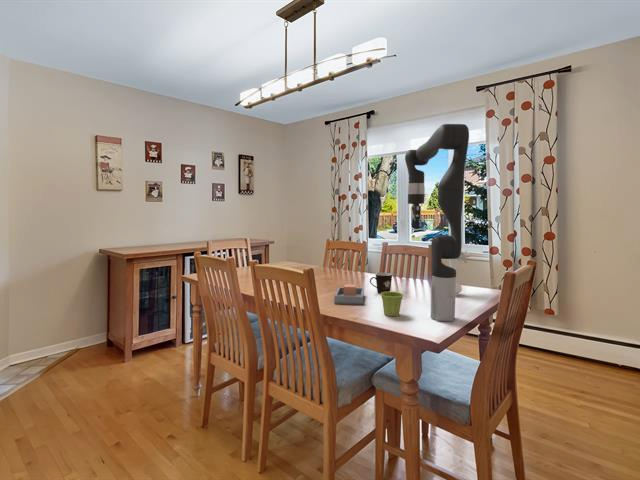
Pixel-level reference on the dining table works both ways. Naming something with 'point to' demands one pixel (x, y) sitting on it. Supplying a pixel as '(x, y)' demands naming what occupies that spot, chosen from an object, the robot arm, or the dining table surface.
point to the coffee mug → (383, 282)
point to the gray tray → (349, 297)
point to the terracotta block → (349, 290)
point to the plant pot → (391, 303)
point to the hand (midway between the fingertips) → (415, 228)
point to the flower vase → (453, 265)
